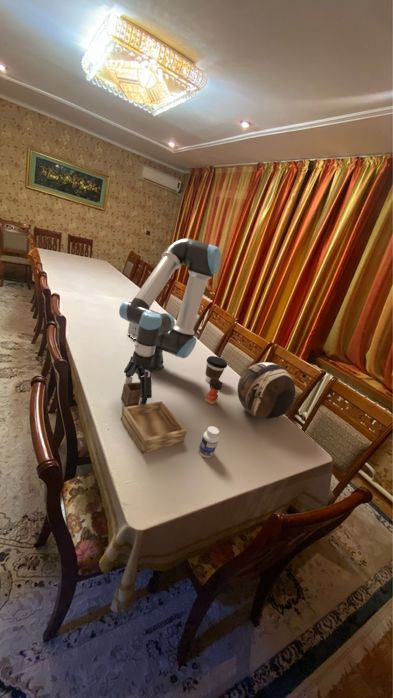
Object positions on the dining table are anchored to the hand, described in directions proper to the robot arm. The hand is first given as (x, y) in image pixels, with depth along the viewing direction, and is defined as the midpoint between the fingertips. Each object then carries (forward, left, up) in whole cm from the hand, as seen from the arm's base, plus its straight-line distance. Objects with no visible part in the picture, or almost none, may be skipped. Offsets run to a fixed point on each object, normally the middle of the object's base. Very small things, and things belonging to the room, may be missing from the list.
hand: (133, 400), depth 116 cm
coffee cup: (-48, -8, -1) cm, 49 cm away
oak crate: (+1, +18, -1) cm, 18 cm away
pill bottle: (-12, +34, -1) cm, 36 cm away
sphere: (-52, +22, -1) cm, 57 cm away
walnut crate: (0, 0, -1) cm, 1 cm away
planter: (-34, -64, -1) cm, 72 cm away
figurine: (-35, +8, -1) cm, 36 cm away
